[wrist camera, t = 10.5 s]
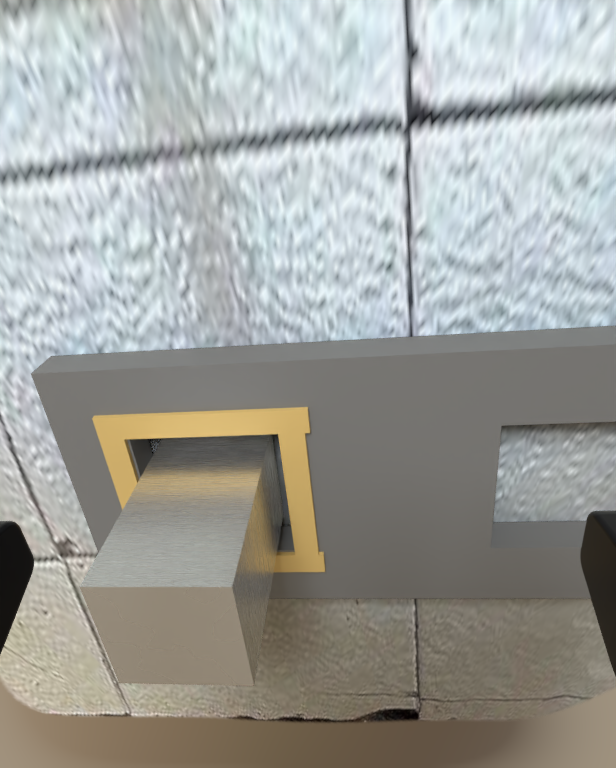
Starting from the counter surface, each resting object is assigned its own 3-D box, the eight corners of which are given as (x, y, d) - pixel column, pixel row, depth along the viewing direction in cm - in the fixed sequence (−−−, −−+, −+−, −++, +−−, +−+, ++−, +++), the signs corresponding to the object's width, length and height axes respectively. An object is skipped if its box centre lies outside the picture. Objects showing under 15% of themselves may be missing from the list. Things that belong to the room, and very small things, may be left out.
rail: (772, 317, 18) (809, 337, 17) (687, 570, 24) (709, 602, 22) (50, 356, 21) (27, 376, 20) (127, 573, 27) (114, 602, 25)
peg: (271, 429, 22) (231, 586, 15) (283, 513, 24) (254, 685, 17) (165, 432, 23) (79, 586, 16) (186, 514, 25) (119, 683, 18)
